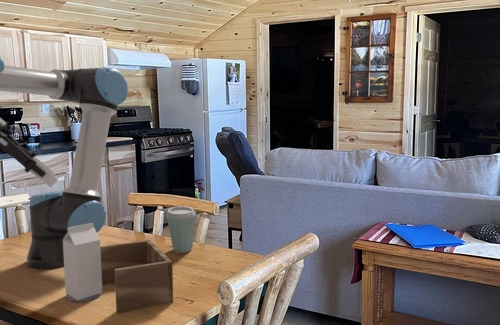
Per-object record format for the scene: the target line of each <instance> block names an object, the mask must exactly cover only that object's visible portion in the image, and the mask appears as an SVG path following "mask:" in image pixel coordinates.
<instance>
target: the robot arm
mask: <svg viewBox="0 0 500 325" xmlns="http://www.w3.org/2000/svg"><path fill="white" fill-rule="evenodd" d="M0 92H7V93H18V94H19V93H20V94H28V95H38V96H39V95H40V96H48V98H49V99H51V100H58V101H64V102H70V103H73V104H74V103H75V104H78V105H79V108H80V109H81V111H82V115H81V121H80V126H79V131H78V136H77V144H76V148H75V153H74V159H73V164H72V170H71V175H70V179H69V186H68V187H65V189H64V190H55V191H47V192H41V193H36V194H34V195H32V196H30V198H29V207H28V208H29V213H30V214H29V215H30V231H31V232H30V233H31V243H30V245H29V246H30V247H29V250H28V253H27V256H26V263H27V266H28V267H30V268H34V269H54V268H60V267H64V252H63V239H64V237H65V235H66V234H67V232H68V227H73V226H78V225H84V224H89V223H93V224H94V228H95V230H96V232H97V233H99V232H100V231H101V230H102V228H103V227H104V225H105V223H106V219H107V212H106V211H107V210H106V209H105V206H104V205H103V204H102V203H101V202H102V194H101V193H100V192H99V185H100V179H101V173H102V167H103V162H104V157H105V151H106V146H107V142H108V141H107V140H108V134H109V129H110V123H111V118H112V117H113V116H114V115H115V114H117V112H118V107H119V105H121V104H123V103H124V102H125V101H126V100H127V97H128V94H129V86H128V82H127V80H126V79H125V76H124V75H123V73H122V72H120V71H119V70H118V69H117V68H114V67H106V66H102V67H93V68H92V67H91V68H78V69H67V70H66V69H64V70H62V69H56V68H55V69H51V70H50V71H47V70H39V69H33V68H25V67H19V66H11V65H5V61H4V59H2V57H1V56H0ZM7 126H8V123H7V121H5V120H4V119H3V118H2V117H0V150H2V151H3V152H4V153H6V154H7V155H9V156H10V157H12V158H13V159H14V160H16V162H18V163H19V164H20V165H22V166H23V167H24V168H25V169H24V172H25V173H29V172H30V173H31V174H33V175H34V176H36V178H38V179H39V180H41V182H43V183H44V184H45V185H47V186H48V187H49V188H52V187H53V186H54V185H55V184H56V183H57V182H58V181H59V179H58V178H57V177H56V176H55V175H54V173H55V172H54V171H53V170H52V169H51V168H49V167H48V166H47V165H46V164H44V163H43V162H42V161H40V159H38V158H37V157H36V156H37V154H36V153H35V152H32V153H31V152H30V151H29V150H27V149H26V148H24V147H23V146H22V145H21V143H19V141H17V140H16V139H15V138H14V136H13V135H11V134H7V133H5V132H2V131H3V130H4V129H5V128H6V127H7Z"/></svg>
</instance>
